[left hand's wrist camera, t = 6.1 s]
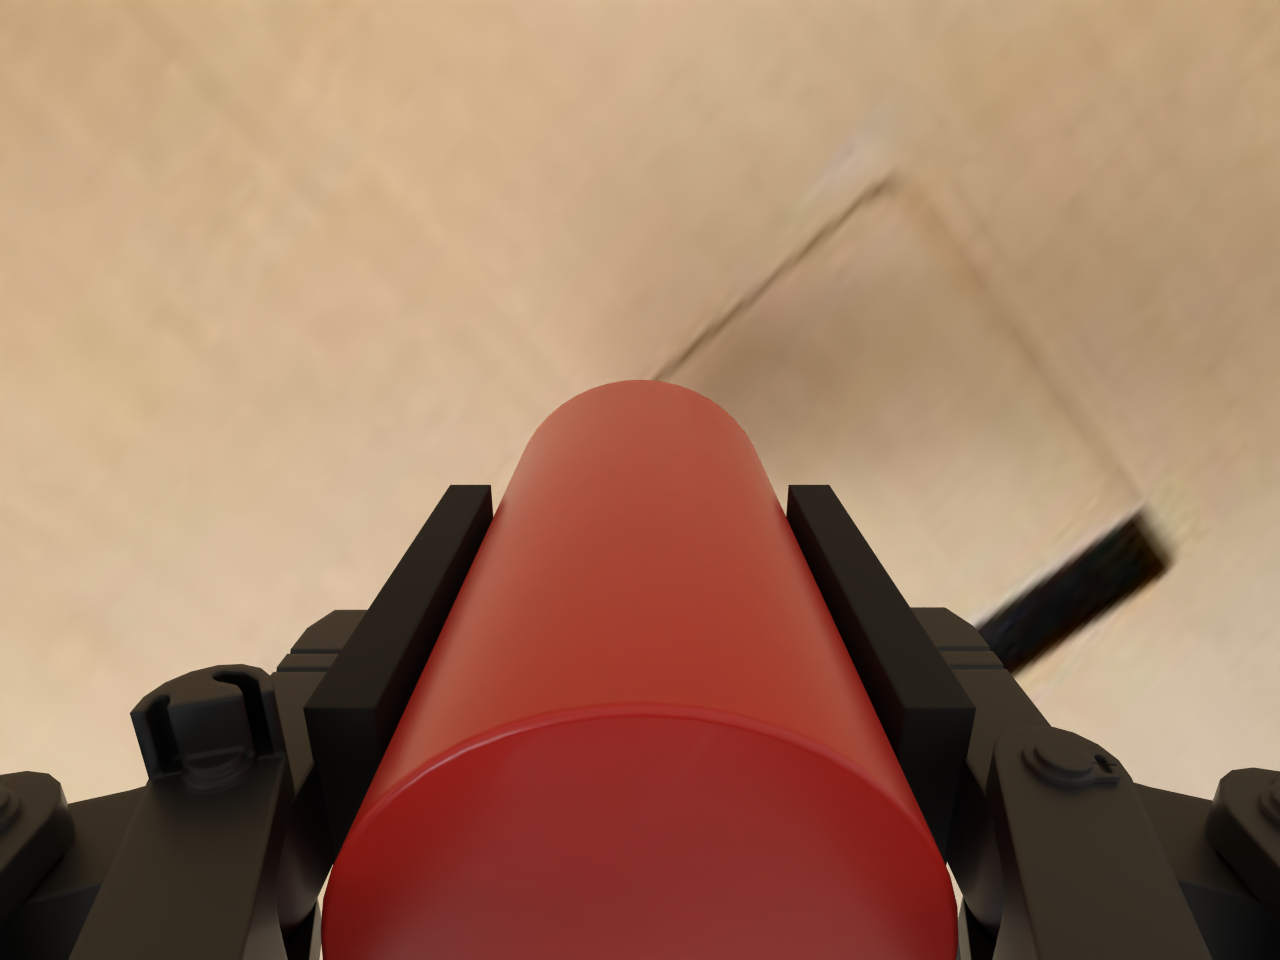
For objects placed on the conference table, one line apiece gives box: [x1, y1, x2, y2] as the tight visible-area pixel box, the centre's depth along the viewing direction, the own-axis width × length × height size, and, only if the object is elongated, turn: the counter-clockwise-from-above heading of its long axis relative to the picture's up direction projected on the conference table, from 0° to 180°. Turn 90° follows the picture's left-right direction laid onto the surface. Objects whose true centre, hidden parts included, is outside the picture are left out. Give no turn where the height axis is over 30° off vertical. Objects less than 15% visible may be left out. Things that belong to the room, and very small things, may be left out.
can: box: [321, 380, 959, 960], centre depth 12 cm, size 6×6×11 cm
